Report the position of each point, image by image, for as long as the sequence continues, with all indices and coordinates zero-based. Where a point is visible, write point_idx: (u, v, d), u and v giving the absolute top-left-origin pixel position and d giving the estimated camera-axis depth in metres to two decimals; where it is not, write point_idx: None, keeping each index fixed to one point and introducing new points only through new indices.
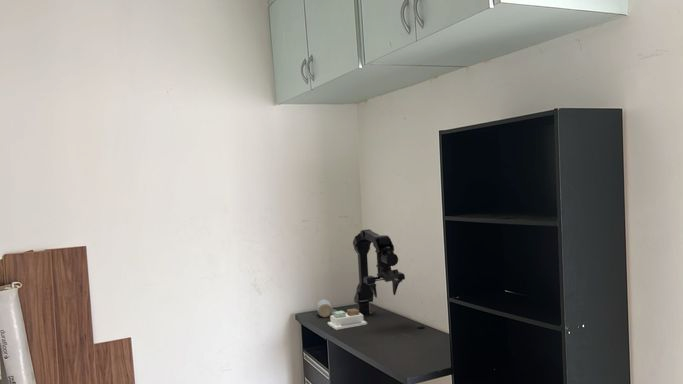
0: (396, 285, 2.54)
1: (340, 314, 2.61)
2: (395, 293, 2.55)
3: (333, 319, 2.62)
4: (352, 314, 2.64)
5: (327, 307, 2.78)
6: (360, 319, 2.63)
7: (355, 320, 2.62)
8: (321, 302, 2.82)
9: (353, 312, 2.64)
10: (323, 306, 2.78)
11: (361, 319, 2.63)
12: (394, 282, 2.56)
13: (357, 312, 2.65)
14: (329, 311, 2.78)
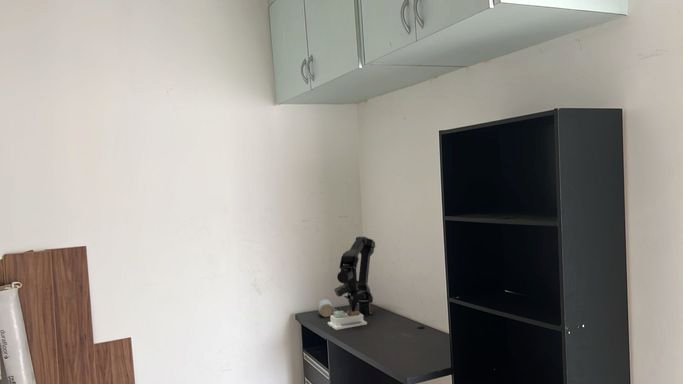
0: (350, 302, 2.65)
1: (340, 314, 2.61)
2: (352, 309, 2.65)
3: (333, 319, 2.62)
4: (352, 315, 2.64)
5: (328, 307, 2.78)
6: (360, 319, 2.63)
7: (355, 320, 2.62)
8: (322, 302, 2.82)
9: (353, 313, 2.64)
10: (324, 306, 2.78)
11: (361, 319, 2.63)
12: None
13: (357, 313, 2.65)
14: (330, 311, 2.79)
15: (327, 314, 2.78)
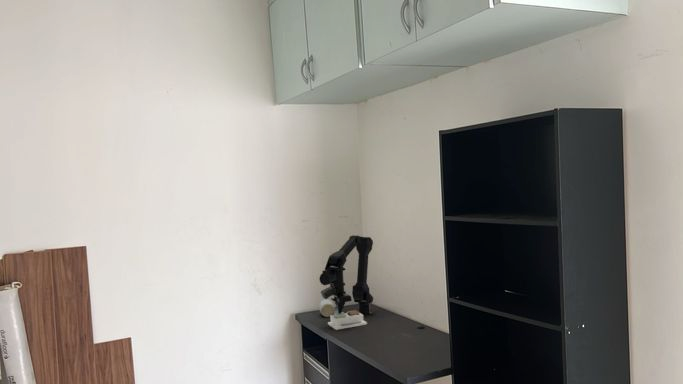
0: (337, 304, 2.62)
1: (340, 315, 2.61)
2: (338, 312, 2.63)
3: (333, 319, 2.62)
4: None
5: (329, 307, 2.78)
6: (360, 319, 2.63)
7: (355, 320, 2.62)
8: (323, 302, 2.82)
9: (353, 314, 2.64)
10: (325, 306, 2.78)
11: (361, 319, 2.63)
12: None
13: (357, 314, 2.65)
14: (331, 311, 2.79)
15: (328, 314, 2.78)
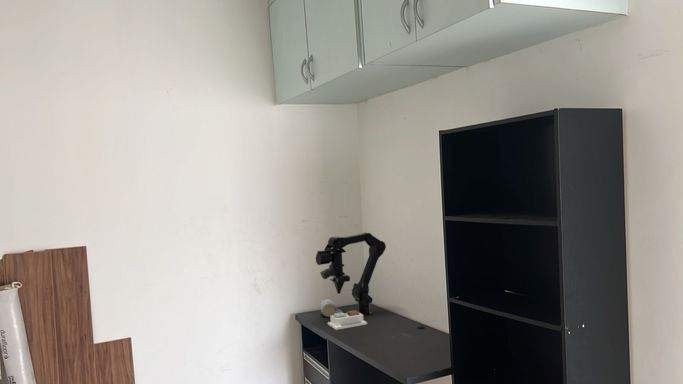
0: (336, 284, 2.71)
1: (340, 316, 2.61)
2: (337, 292, 2.72)
3: (333, 319, 2.62)
4: None
5: (331, 307, 2.78)
6: (360, 319, 2.63)
7: (355, 320, 2.62)
8: (325, 302, 2.82)
9: (353, 314, 2.64)
10: (327, 306, 2.78)
11: (361, 319, 2.63)
12: None
13: (357, 314, 2.65)
14: (333, 311, 2.79)
15: (330, 314, 2.79)
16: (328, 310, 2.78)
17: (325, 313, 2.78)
